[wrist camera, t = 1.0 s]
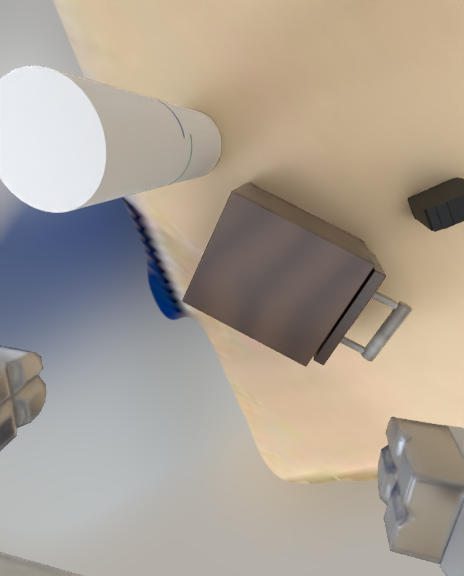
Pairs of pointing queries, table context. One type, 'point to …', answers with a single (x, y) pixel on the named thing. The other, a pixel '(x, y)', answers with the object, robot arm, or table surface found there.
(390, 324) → the drawer
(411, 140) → the table surface
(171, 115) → the cylindrical container
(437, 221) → the ink cartridge
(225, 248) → the cabinet
